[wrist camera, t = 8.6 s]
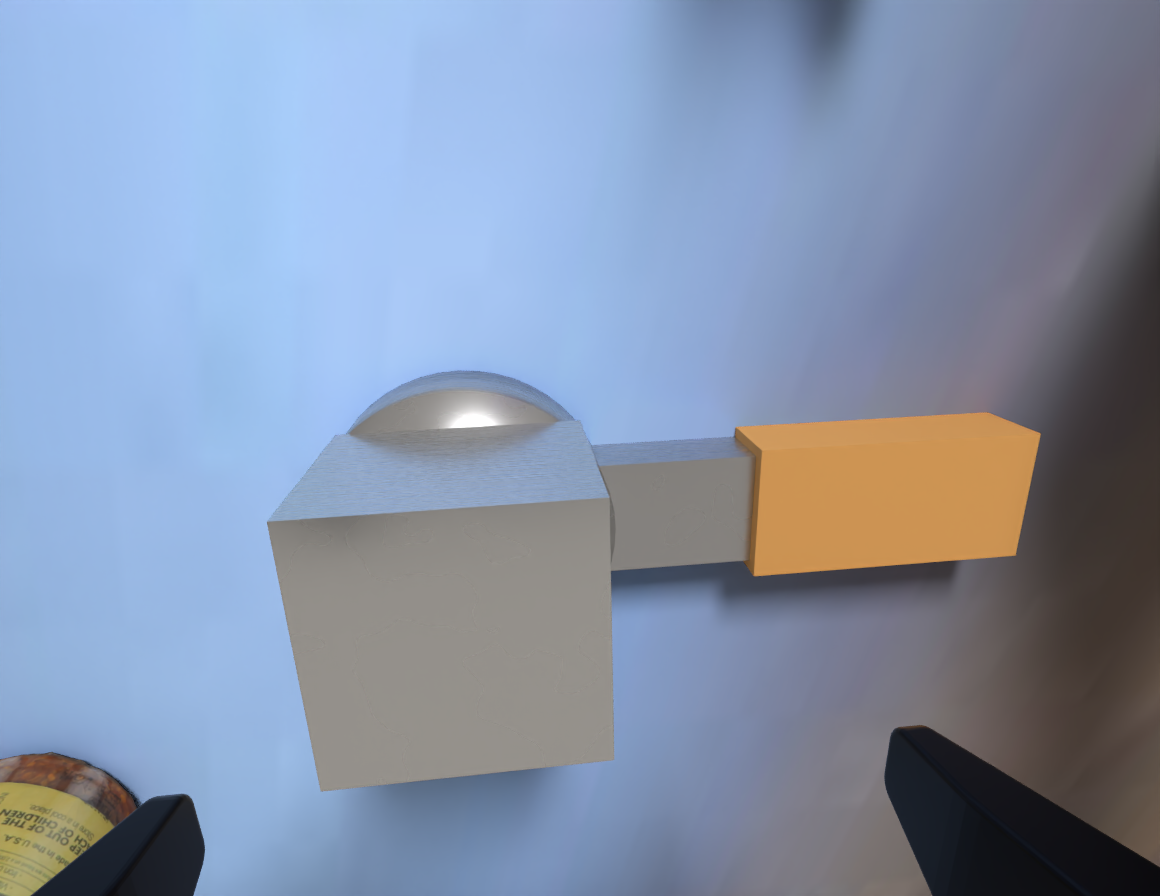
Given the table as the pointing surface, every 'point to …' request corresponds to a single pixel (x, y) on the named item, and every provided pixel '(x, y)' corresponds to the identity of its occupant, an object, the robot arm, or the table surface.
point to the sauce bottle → (52, 816)
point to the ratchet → (773, 482)
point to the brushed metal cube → (450, 602)
